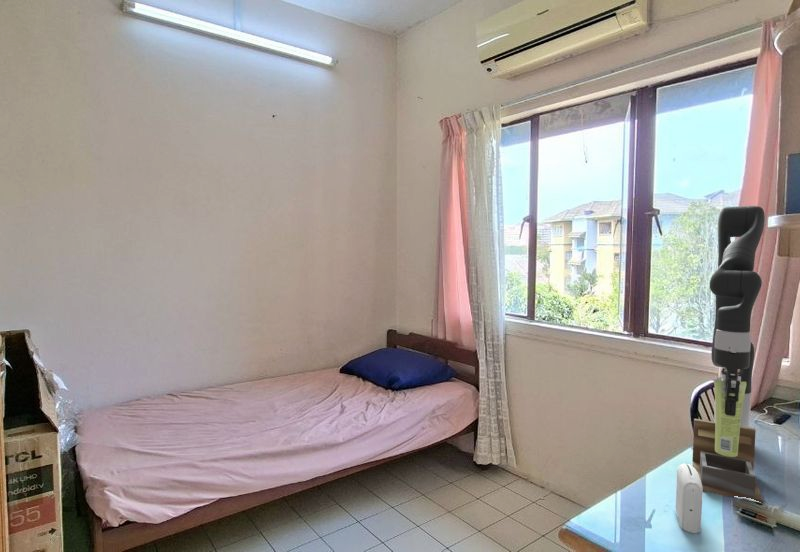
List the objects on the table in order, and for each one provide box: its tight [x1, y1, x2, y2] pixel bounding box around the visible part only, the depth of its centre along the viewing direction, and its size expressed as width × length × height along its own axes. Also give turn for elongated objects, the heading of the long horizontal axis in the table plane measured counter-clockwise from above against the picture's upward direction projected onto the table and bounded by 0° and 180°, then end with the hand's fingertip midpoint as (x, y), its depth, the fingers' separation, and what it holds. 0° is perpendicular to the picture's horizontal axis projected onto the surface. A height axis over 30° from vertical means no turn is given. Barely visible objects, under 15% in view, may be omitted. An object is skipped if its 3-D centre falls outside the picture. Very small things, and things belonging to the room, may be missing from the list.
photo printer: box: [675, 463, 703, 534], centre depth 105 cm, size 10×4×12 cm, turn 156°
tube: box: [713, 379, 746, 457], centre depth 119 cm, size 6×5×20 cm
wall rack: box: [692, 418, 764, 504], centre depth 122 cm, size 17×14×13 cm
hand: (729, 411), depth 119 cm, fingers closed on tube, 4 cm apart
